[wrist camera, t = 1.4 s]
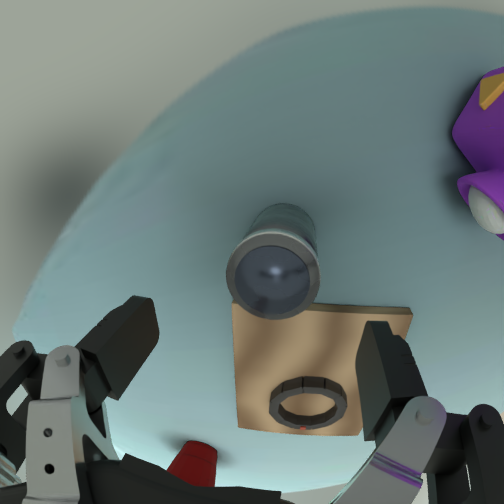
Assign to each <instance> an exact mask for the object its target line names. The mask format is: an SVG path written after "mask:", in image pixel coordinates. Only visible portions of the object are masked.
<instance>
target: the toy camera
mask: <svg viewBox="0 0 504 504" xmlns="http://www.w3.org/2000/svg"><path fill="white" fill-rule="evenodd" d="M452 136H453V139H454V141H455V143H456V144H457V146H458V147H459V149H460V150H461V151H462V153H463V154H464V155H465V157H466V158H467V159H468V161H469V162H470V164H471V165H472V166H473V168H474V169H475V171H476V172H477V173H473V174H468V175H465V176H463V177H460V178H459V179H458V181H457V187H458V189H459V192H460V194H461V196H462V197H463V199H464V200H465V202H466V203H467V204H468V206H469V207H470V209H471V212H472V215H473V216H474V218H475V220H476V221H477V222H478V223H479V225H480V226H481V227H483V228H484V229H485V230H486V231H489V232H491V233H494V234H496V235H497V236H498V237H500V238H501V239H502V240H504V67H501V68H498V69H495V70H492V71H490V72H488V73H486V74H485V75H484V76H483V78H482V79H481V81H480V82H479V84H478V86H477V87H476V89H475V91H474V92H473V94H472V96H471V98H470V99H469V101H468V103H467V104H466V106H465V107H464V109H463V111H462V112H461V114H460V115H459V117H458V119H457V121H456V123H455V124H454V127H453V130H452Z"/></svg>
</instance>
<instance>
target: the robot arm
mask: <svg viewBox="0 0 504 504" xmlns="http://www.w3.org/2000/svg"><path fill="white" fill-rule="evenodd" d="M158 339H159V327H158V322H157V317H156V313H155V308H154V303H153V300H152V299H151V298H146V297H140V296H135V295H134V296H132V297H130V298H129V299H128V300H127V301H126V302H125V303H124V304H123V305H121V306H119V307H117V308H115V309H113V310H112V311H110V312H109V313H108V314H107V315H106V316H105V317H104V318H103V320H101V321H100V322H99V323H98V324H97V326H95V327H94V328H93V329H92V330H91V331H90V332H89V333H88V334H87V335H86V336H85V337H84V338H83V339H82V340H81V341H80V342H79V343H78V344H77V345H76V346H75V347H73V346H69V345H65V346H60V347H57V348H55V349H54V350H52V351H51V352H50V353H49V354H48V355H47V354H39V353H36V351H35V349H34V347H33V345H32V343H31V342H29V341H19V342H16V343H14V344H13V345H11V346H10V348H8V349H7V350H6V351H5V352H4V353H3V354H2V356H0V504H294V503H292V502H289V501H286V500H283V499H280V497H281V491H271V490H261V489H254V488H246V487H240V486H236V487H203V486H194V485H191V484H189V483H187V482H185V481H184V480H182V479H180V478H178V477H176V476H175V475H173V474H171V473H169V472H168V471H166V470H164V469H163V468H161V467H160V466H158V465H155V464H152V463H149V462H147V461H144V460H141V459H139V458H136V457H134V456H131V455H129V454H127V453H125V455H124V457H123V459H122V460H119V458H118V456H117V453H116V452H115V450H114V447H113V445H112V441H111V435H110V430H109V424H108V417H107V410H106V404H105V402H104V400H105V398H106V397H107V396H108V397H110V398H113V399H115V400H119V398H120V397H121V396H122V394H123V393H124V391H125V390H126V388H127V387H128V385H129V384H130V382H131V381H132V379H133V378H134V376H135V375H136V373H137V372H138V370H139V369H140V368H141V366H142V365H143V363H144V362H145V360H146V359H147V357H148V356H149V355H150V353H151V352H152V350H153V349H154V347H155V346H156V344H157V342H158ZM355 370H356V376H357V383H358V390H359V397H360V405H361V413H362V422H363V431H364V441H374V440H375V443H376V448H375V450H374V451H373V452H372V454H371V455H370V456H369V458H368V459H367V460H366V462H365V463H364V464H363V465H362V467H361V468H360V469H359V470H358V472H357V473H356V474H355V475H354V476H353V478H352V479H351V480H350V481H349V482H348V484H347V485H346V486H345V487H344V488H343V489H342V490H341V491H340V493H338V495H336V496H335V497H334V499H333V500H332V501H331V502H330V503H329V504H411V503H412V502H413V500H414V499H415V497H416V495H417V494H418V492H419V490H420V488H421V486H422V483H423V479H421V478H420V477H421V474H422V473H427V484H428V499H429V504H504V424H503V421H502V419H501V416H500V414H499V412H498V411H497V410H496V409H495V408H494V407H492V406H490V405H487V404H480V405H477V406H475V407H474V408H473V409H472V410H471V412H470V413H469V414H468V415H462V414H454V413H447V412H446V411H445V408H444V407H443V405H442V404H441V403H440V402H439V401H437V400H436V399H434V398H432V397H428V394H427V392H426V389H425V386H424V383H423V380H422V378H421V375H420V372H419V370H418V367H417V365H416V362H415V359H414V357H413V356H412V352H411V350H410V347H409V345H408V343H407V342H406V341H405V340H404V339H403V338H402V337H401V336H400V335H393V333H392V330H391V328H390V325H389V323H388V321H367V322H366V324H365V326H364V330H363V333H362V337H361V340H360V344H359V347H358V350H357V354H356V359H355ZM20 384H22V386H23V387H24V389H25V390H26V392H27V393H28V396H27V397H26V398H25V399H24V401H23V402H22V403H21V404H20V406H19V407H18V408H17V410H16V411H15V412H14V414H13V415H12V416H11V415H10V414H9V413H8V411H7V409H6V403H7V400H8V399H9V398H10V396H11V395H12V394H13V393H14V391H15V390H16V389H17V388H18V387H19V385H20ZM25 458H26V479H27V482H24V483H21V479H20V478H19V477H18V476H17V475H16V473H17V471H18V470H19V468H20V466H21V465H22V463H23V461H24V459H25ZM466 465H467V467H468V472H469V478H470V485H471V491H470V487H469V480H468V474H467V468H466Z"/></svg>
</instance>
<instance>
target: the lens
mask: <svg viewBox="0 0 504 504" xmlns="http://www.w3.org/2000/svg"><path fill="white" fill-rule="evenodd" d="M320 279H321V275H320V265H319V261H318V255H317V246H316V237H315V229H314V225H313V222H312V220H311V218H310V217H309V215H308V214H307V213H306V212H305V211H304V210H302V209H301V208H299V207H297V206H295V205H292V204H286V203H280V204H275V205H272V206H270V207H268V208H266V209H265V210H264V211H262V212H261V214H260V215H259V216H258V218H257V219H256V220H255V222H254V223H253V225H252V226H251V228H250V229H249V231H248V232H247V234H246V235H245V237H244V238H243V240H242V241H241V242H240V243H239V244H238V245H237V247H236V248H235V250H234V251H233V253H232V254H231V256H230V258H229V261H228V265H227V270H226V280H227V285H228V289H229V291H230V293H231V295H232V297H233V298H234V300H235V301H236V302H237V303H238V304H239V306H241V307H242V308H243V309H244V310H246V311H247V312H249V313H251V314H252V315H255V316H257V317H260V318H264V319H270V320H282V319H287V318H291V317H294V316H296V315H298V314H300V313H301V312H303V311H304V310H305V309H307V308H308V307H309V306H310V305H311V303H312V302H313V301H314V299H315V297H316V295H317V293H318V290H319V286H320Z"/></svg>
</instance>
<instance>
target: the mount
mask: <svg viewBox="0 0 504 504" xmlns="http://www.w3.org/2000/svg"><path fill="white" fill-rule="evenodd" d="M412 318H413V313H412V312H411V310H410V308H398V307H369V306H348V305H331V304H316V303H311V305H310V306H309V307H308V308H307V309H305V310H304V311H303V312H301V313H300V314H298V315H296V316H294V317H291V318H287V319H282V320H270V319H264V318H260V317H257V316H255V315H252V314H251V313H249V312H247V311H246V310H244V309H243V308H242V307H241V306H239V304H238V303H237V302H236V301H235V300H233V302H232V324H233V346H234V366H235V385H236V402H237V418H238V427H239V428H245V429H251V430H258V431H266V432H275V433H285V434H298V435H319V436H355V435H358V434H359V433H360V431H361V429H362V428H363V422H362V413H361V405H360V397H359V390H358V383H357V376H356V370H355V359H356V354H357V350H358V347H359V344H360V340H361V337H362V333H363V330H364V326H365V324H366V322H367V321H388V323H389V325H390V328H391V330H392V333H393V335H400V336H401V337H402V338H403V339H404V340H405V337H406V334H407V332H408V329H409V326H410V323H411V321H412Z"/></svg>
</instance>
